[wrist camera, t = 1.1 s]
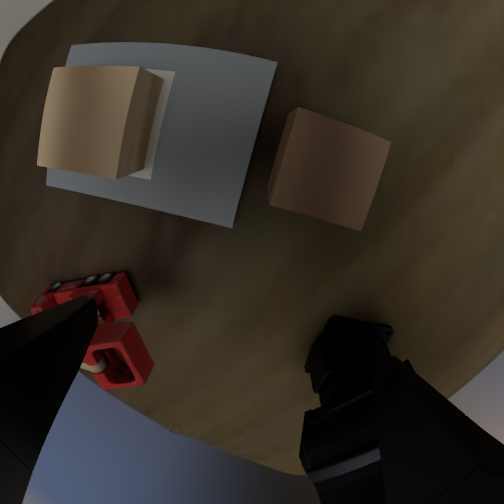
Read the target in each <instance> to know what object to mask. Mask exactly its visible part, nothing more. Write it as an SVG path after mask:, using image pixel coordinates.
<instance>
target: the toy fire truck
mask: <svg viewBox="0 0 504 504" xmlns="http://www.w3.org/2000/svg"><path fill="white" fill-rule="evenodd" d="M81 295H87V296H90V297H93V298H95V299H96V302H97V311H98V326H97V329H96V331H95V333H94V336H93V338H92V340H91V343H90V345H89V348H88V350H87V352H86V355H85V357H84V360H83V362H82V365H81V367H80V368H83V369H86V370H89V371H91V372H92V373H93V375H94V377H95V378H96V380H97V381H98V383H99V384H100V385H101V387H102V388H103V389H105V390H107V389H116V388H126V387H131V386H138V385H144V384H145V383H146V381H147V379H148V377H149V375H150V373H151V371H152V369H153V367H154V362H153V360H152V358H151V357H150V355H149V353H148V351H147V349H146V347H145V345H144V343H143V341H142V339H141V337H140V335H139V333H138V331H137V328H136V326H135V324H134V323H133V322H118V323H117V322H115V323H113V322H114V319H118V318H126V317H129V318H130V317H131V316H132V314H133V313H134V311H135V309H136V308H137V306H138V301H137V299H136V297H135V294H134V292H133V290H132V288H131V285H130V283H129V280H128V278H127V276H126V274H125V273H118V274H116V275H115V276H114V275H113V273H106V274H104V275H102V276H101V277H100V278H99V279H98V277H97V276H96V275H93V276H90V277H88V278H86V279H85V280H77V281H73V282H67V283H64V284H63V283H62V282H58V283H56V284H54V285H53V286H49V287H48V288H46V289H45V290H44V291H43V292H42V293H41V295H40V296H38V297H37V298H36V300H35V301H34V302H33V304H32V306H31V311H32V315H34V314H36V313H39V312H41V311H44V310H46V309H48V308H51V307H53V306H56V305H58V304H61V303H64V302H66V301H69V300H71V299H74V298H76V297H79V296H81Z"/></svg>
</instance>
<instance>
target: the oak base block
mask: <svg viewBox="0 0 504 504" xmlns="http://www.w3.org/2000/svg"><path fill="white" fill-rule="evenodd" d="M163 82H164V79H163V78H161V77H159V76H157V75H155V74H153V73H151V72H149V71H147V70H145V69H143V68H141V67H136V66H72V67H58V68H54V69H53V72H52V76H51V80H50V84H49V89H48V93H47V98H46V103H45V108H44V114H43V120H42V126H41V133H40V141H39V150H38V161H37V166H43V167H49V168H55V169H61V170H66V171H72V172H77V173H83V174H88V175H93V176H98V177H103V178H108V179H113V180H117V179H120V178H122V177H125V176H127V175H130V174H133V173H135V172H138V171H141V170H143V169H144V165H145V160H146V154H147V149H148V144H149V139H150V134H151V130H152V125H153V121H154V117H155V112H156V108H157V104H158V100H159V96H160V93H161V89H162V85H163Z"/></svg>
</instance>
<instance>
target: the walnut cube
mask: <svg viewBox="0 0 504 504" xmlns="http://www.w3.org/2000/svg"><path fill="white" fill-rule="evenodd" d="M390 145H391V142H390V141H387V140H385V139H383V138H381V137H378V136H376V135H374V134H371V133H369V132H367V131H364V130H362V129H359V128H357V127H354V126H352V125H349V124H347V123H344V122H341V121H339V120H336V119H333V118H330V117H327V116H325V115H322V114H319V113H316V112H313V111H310V110H307V109H303V108H300V107H297V108H296V109H294V110H293V111H291V112H290V113H288V114H287V118H286V121H285V125H284V128H283V132H282V135H281V139H280V142H279V146H278V149H277V153H276V156H275V160H274V163H273V167H272V170H271V174H270V177H269V181H268V184H267V192H268V198H269V204H270V205H271V206H274V207H278V208H282V209H285V210H289V211H293V212H296V213H300V214H303V215H307V216H310V217H314V218H317V219H321V220H324V221H327V222H331V223H334V224H337V225H341V226H344V227H347V228H350V229H354V230H357V231H360V232H361V230H362V228H363V225H364V222H365V220H366V217H367V214H368V212H369V209H370V206H371V203H372V200H373V198H374V195H375V192H376V189H377V186H378V183H379V180H380V177H381V174H382V171H383V168H384V165H385V162H386V158H387V155H388V152H389V148H390Z"/></svg>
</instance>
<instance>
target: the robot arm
mask: <svg viewBox="0 0 504 504" xmlns="http://www.w3.org/2000/svg"><path fill="white" fill-rule="evenodd" d="M336 321H337V322H336ZM333 322H336V323H333ZM97 326H98V311H97V302H96V299H95V298H93V297H90V296H87V295H81V296H79V297H76V298H74V299H71V300H69V301H66V302H64V303H61V304H58V305H56V306H53V307H51V308H48V309H46V310H44V311H41V312H39V313H36V314H34V315H31V316H29V317H26V318H24V319H21V320H19V321H16V322H14V323H12V324H9V325H7V326H4V327H2V328H0V504H22V502H23V499H24V496H25V493H26V490H27V487H28V484H29V481H30V478H31V475H32V471H33V469H34V467H35V464H36V462H37V459H38V457H39V454H40V451H41V449H42V447H43V444H44V442H45V440H46V437H47V435H48V433H49V430H50V428H51V426H52V424H53V421H54V419H55V417H56V415H57V413H58V411H59V408H60V406H61V404H62V402H63V400H64V398H65V396H66V394H67V392H68V390H69V388H70V386H71V384H72V382H73V380H74V379H75V377H76V375H77V373H78V371H79V369H80V367H81V365H82V362H83V360H84V357H85V355H86V352H87V350H88V348H89V345H90V343H91V340H92V338H93V336H94V333H95V331H96V329H97ZM387 331H388V332H387ZM393 332H394V330H393V329H392V327H391V326H388V325H382V324H376V323H371V322H365V321H359V320H354V319H349V318H343V317H338V316H333V317H331V318H330V319H329V321H328V323H327V325H326V327H325V329H324V331H323V333H322V335H321V337H319V338H318V339H317V340H316V342H315V344H314V346H313V348H312V350H311V352H310V354H309V356H308V358H307V360H308V361H307V363H306V365H305V367H304V368H305V372H306V373H310V377H311V382H312V388H313V391H314V393H315V394H319V398H320V404H321V407H318V408H316V409H314V410H312V409H311V410H309V411H306V412H305V414H304V422H303V430H302V437H301V444H300V453H299V458H300V460H301V464H302V466H303V468H304V470H305V472H306V474H307V475H308V477H309V478H310V479H311V480H312V481H313V483H314V486H315V488H316V490H317V492H318V495H319V499H320V502H321V504H504V444H502V443H501V442H500V441H498V440H497V439H495V438H494V437H493V436H491V435H490V434H489V433H487V432H486V431H485V430H483V429H482V428H481V427H480V426H478V425H477V424H476V423H475V422H474V421H472V420H471V419H470V418H469V417H468V416H465V414H464V413H463V412H462V411H461V410H459V409H458V408H457V407H456V406H454V405H453V404H452V403H451V402H450V401H449V400H448V399H446V398H445V397H444V396H443V395H442V394H440V393H439V392H438V391H437V390H436V389H434V388H433V387H432V386H431V385H430V384H428V383H427V382H426V381H425V380H424V379H423V378H421V377H420V376H419V375H418V374H417V373H415V371H414V369H413V367H412V366H411V364H410V362H409V360H408V359H407V360H405V361H404V362H402V361H401V360H400V359H399V358H397V357H396V356H391V354H390V352H389V350H388V348H387V346H386V344H387V342H388V341H389V339H390V337H391V336H392V334H393Z"/></svg>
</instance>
